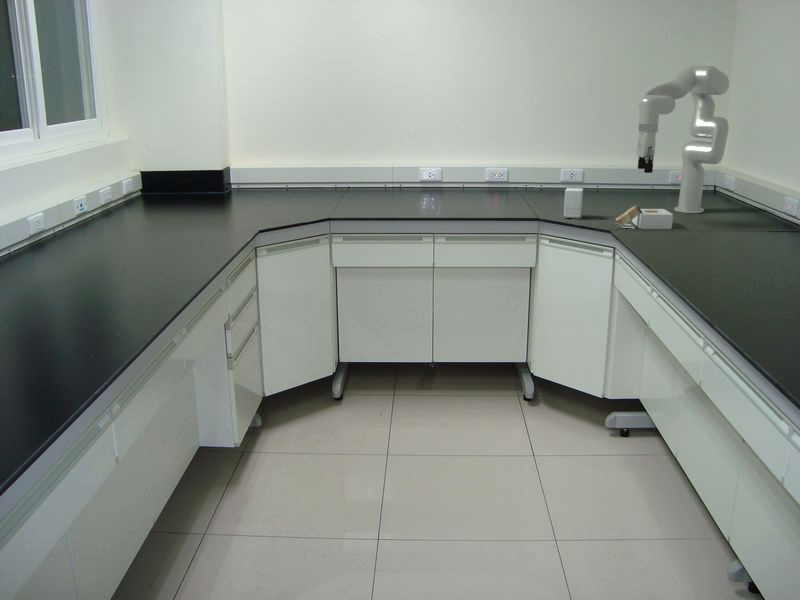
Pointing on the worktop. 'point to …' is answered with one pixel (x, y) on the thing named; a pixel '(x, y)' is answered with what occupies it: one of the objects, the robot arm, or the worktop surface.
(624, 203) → the worktop surface
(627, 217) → the tan wooden block
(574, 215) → the supplement box
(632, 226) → the pad
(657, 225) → the box
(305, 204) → the worktop surface
